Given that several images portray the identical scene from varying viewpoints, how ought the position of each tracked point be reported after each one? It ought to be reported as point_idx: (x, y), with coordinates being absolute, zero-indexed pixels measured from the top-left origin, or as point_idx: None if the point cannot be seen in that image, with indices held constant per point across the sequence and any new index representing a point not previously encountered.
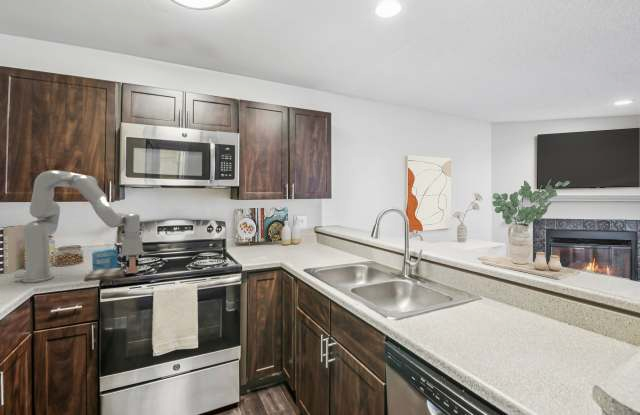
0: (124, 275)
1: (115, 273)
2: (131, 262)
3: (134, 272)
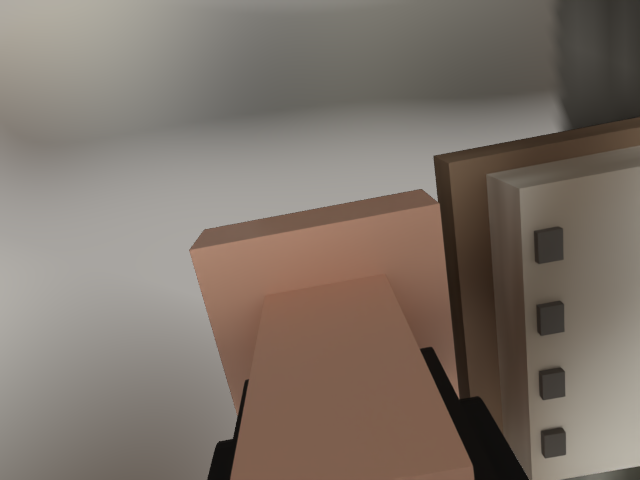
0: (443, 199)
1: (626, 157)
2: (365, 384)
3: (277, 218)
